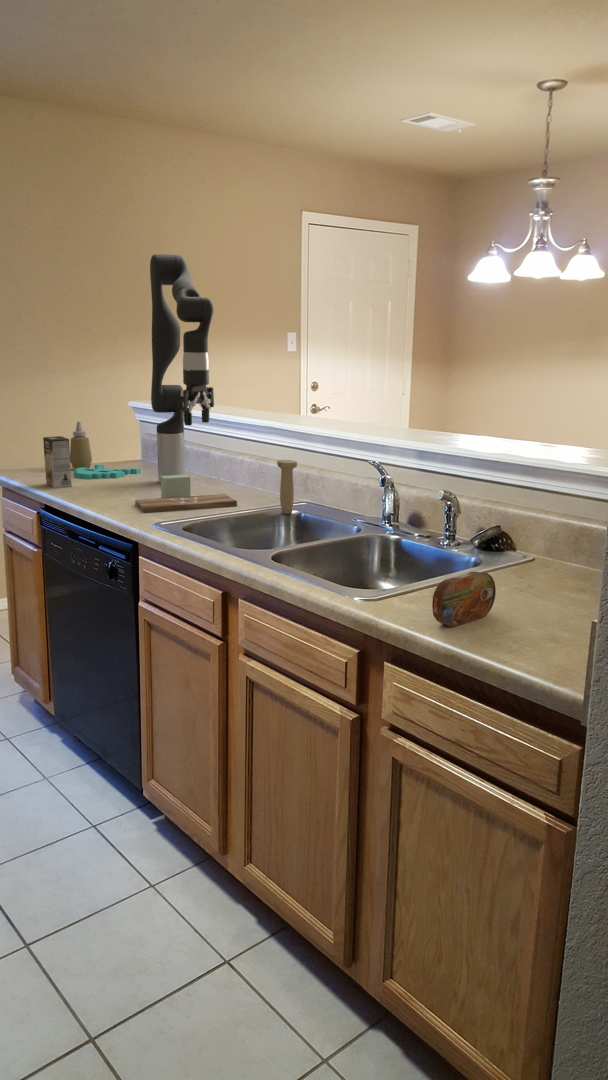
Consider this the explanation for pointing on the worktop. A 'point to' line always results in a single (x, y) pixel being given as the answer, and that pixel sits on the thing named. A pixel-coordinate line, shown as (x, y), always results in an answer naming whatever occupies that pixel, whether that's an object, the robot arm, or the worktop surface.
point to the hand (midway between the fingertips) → (196, 423)
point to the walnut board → (185, 503)
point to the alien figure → (103, 472)
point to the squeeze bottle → (80, 449)
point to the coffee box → (57, 461)
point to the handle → (286, 485)
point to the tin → (463, 598)
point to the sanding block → (175, 486)
